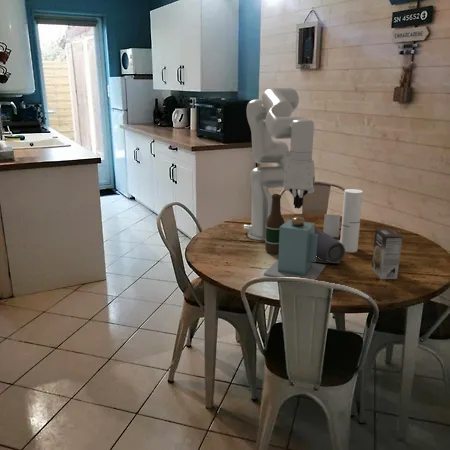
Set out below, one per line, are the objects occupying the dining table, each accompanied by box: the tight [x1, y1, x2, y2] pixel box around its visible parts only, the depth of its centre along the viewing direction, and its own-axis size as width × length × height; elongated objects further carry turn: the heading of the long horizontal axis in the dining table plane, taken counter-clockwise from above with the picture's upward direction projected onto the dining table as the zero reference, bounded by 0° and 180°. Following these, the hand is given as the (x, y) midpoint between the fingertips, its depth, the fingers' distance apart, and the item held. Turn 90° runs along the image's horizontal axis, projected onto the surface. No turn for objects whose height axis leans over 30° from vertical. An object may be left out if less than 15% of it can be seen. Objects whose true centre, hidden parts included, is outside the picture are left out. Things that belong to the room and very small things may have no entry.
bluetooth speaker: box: [314, 228, 346, 264], centre depth 183 cm, size 23×9×10 cm, turn 20°
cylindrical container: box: [339, 188, 364, 253], centre depth 189 cm, size 7×7×25 cm
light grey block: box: [322, 213, 341, 238], centre depth 208 cm, size 4×7×10 cm, turn 79°
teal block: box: [263, 219, 326, 280], centre depth 168 cm, size 18×18×18 cm
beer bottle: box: [264, 193, 286, 255], centre depth 186 cm, size 8×8×24 cm
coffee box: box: [371, 228, 403, 280], centre depth 165 cm, size 9×6×16 cm
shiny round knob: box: [291, 216, 305, 227], centre depth 167 cm, size 7×7×16 cm
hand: (297, 207), depth 164 cm, fingers closed
